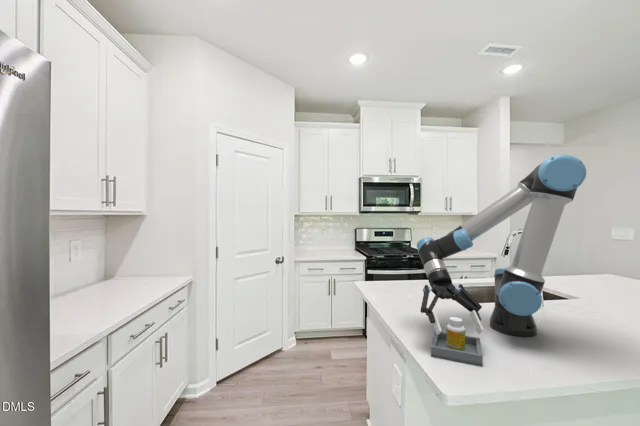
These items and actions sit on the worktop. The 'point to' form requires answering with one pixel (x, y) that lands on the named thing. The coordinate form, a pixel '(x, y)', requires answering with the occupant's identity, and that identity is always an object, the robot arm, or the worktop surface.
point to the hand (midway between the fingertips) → (460, 332)
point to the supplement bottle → (456, 334)
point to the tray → (468, 356)
